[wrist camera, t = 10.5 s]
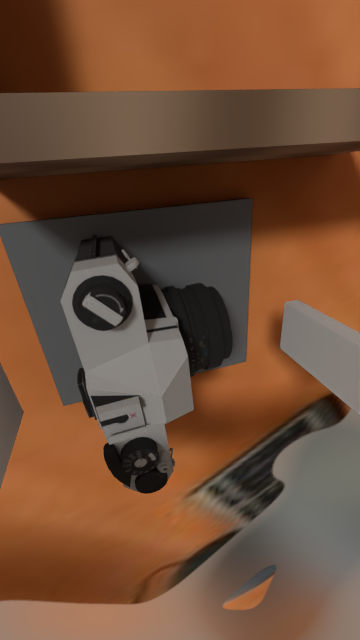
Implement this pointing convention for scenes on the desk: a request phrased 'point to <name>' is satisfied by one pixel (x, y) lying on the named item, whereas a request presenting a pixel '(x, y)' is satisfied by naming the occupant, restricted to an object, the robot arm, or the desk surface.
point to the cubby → (171, 128)
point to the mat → (154, 268)
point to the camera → (139, 355)
